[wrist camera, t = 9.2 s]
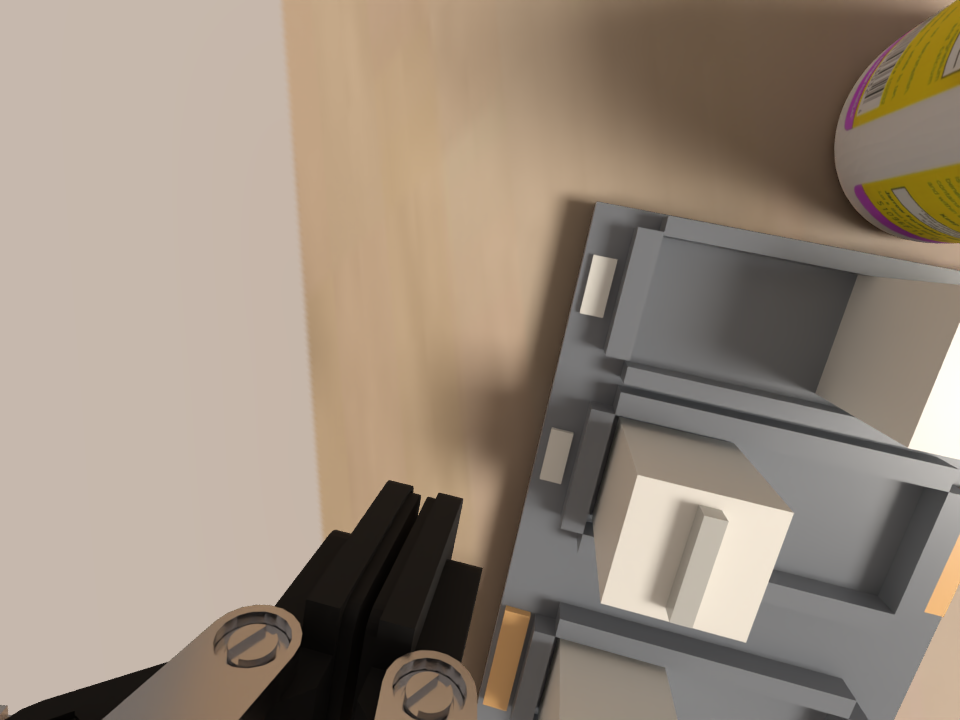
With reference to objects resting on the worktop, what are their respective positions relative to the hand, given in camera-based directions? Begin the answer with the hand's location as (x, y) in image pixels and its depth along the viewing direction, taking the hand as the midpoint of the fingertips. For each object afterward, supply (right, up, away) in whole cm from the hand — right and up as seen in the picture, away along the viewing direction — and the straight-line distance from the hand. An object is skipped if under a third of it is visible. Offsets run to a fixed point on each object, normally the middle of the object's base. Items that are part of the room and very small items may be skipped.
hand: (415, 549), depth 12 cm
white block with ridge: (+8, 0, +8) cm, 11 cm away
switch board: (+11, -3, +9) cm, 14 cm away
